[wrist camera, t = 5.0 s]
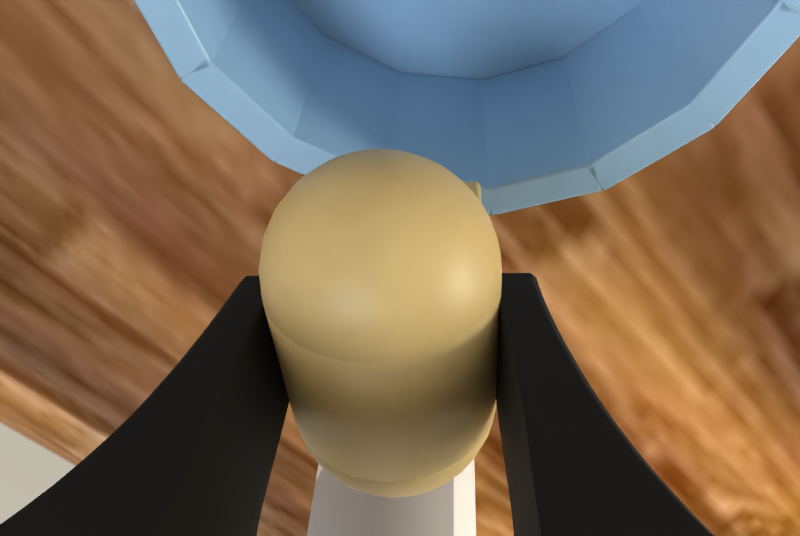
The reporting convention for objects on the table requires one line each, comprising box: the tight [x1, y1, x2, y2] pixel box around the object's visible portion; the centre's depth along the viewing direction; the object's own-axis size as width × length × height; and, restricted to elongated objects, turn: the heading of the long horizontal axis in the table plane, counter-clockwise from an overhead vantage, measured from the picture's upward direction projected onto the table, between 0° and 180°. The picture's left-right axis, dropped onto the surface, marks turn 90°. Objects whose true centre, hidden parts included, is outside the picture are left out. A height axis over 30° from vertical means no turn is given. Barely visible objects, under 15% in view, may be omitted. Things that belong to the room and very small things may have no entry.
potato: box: [258, 149, 502, 498], centre depth 13 cm, size 7×4×4 cm, turn 4°
